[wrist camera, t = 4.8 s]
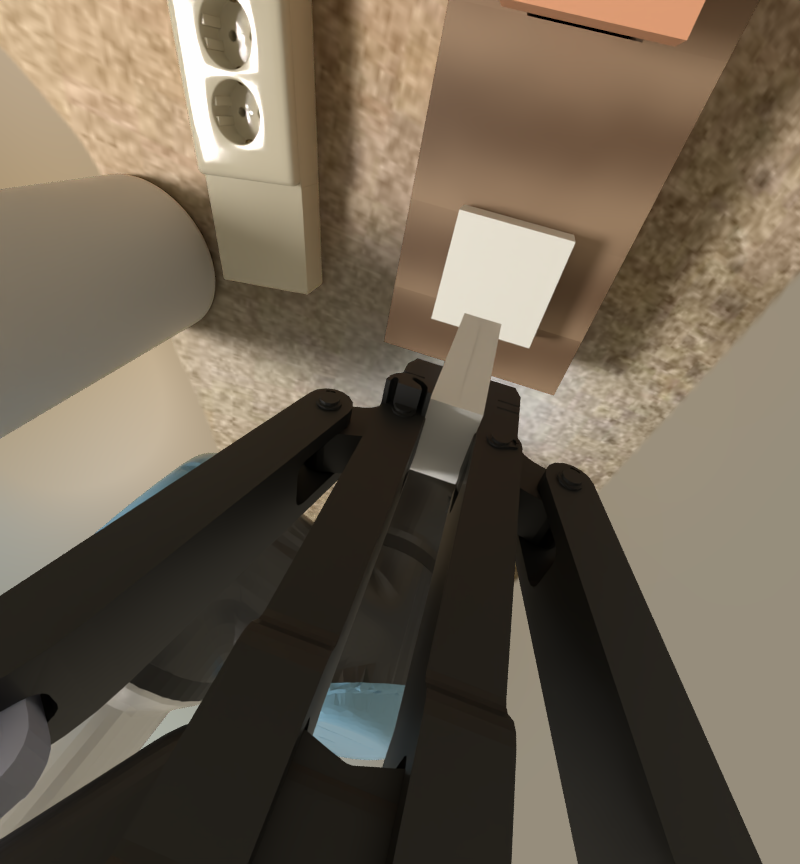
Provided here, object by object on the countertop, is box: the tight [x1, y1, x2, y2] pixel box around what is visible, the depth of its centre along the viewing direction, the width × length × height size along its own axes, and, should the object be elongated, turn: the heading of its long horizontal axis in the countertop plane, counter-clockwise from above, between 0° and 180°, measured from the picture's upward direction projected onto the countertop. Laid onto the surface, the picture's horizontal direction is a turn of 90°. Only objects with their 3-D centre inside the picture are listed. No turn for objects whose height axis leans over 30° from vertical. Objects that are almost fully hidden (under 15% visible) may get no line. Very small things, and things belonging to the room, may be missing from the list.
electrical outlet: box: [167, 0, 322, 295], centre depth 28 cm, size 7×4×18 cm
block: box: [384, 0, 760, 395], centre depth 23 cm, size 26×12×6 cm, turn 169°
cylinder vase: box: [0, 174, 215, 438], centre depth 28 cm, size 12×12×25 cm
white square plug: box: [431, 204, 575, 348], centre depth 26 cm, size 6×6×7 cm
